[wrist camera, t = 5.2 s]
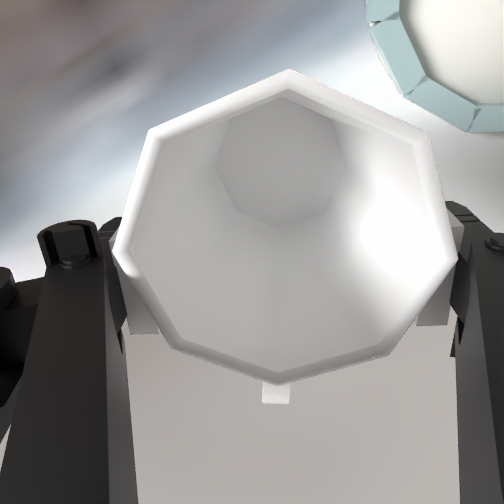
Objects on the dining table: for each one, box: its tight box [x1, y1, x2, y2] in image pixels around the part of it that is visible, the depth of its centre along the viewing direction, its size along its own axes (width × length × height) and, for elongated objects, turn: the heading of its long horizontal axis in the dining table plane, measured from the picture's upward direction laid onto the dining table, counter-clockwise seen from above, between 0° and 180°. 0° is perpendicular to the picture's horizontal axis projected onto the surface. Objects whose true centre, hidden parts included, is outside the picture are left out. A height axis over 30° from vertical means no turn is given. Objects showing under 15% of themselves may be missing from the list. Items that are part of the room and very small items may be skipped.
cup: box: [112, 69, 458, 404], centre depth 13 cm, size 7×10×8 cm
